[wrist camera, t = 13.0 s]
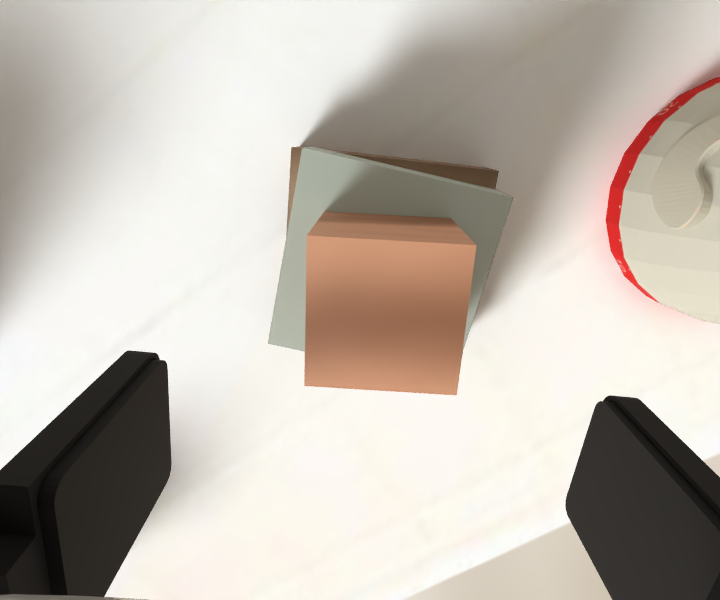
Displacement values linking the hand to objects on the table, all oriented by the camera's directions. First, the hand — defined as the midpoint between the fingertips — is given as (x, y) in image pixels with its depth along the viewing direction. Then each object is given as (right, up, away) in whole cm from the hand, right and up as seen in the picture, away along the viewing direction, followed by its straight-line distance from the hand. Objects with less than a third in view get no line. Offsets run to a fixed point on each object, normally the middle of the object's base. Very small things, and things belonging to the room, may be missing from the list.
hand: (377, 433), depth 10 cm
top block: (+1, +5, +16) cm, 17 cm away
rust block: (+1, +4, +13) cm, 14 cm away
